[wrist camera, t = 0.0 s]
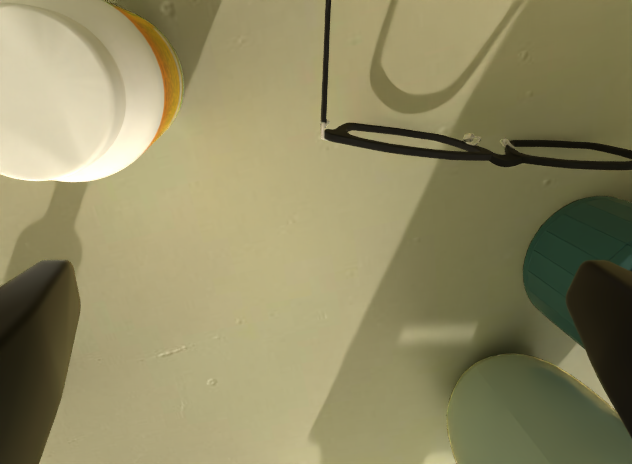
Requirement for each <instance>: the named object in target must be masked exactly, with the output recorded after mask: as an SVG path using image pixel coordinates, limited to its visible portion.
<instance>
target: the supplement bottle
mask: <svg viewBox="0 0 632 464" xmlns="http://www.w3.org/2000/svg"><path fill="white" fill-rule="evenodd" d="M183 95H184V78H183V71H182V67H181V64H180V61H179V58H178V56H177V54H176V52H175V50H174V48H173V47H172V45H171V44H170V42H169V41H168V40H167V38H166V37H165V36H164V35H163V34H162V33H161V32H160V31H159V30H158V29H157V28H156V27H155V26H154V25H152V24H151V23H150V22H148V21H147V20H145V19H144V18H142V17H140V16H138V15H136V14H134V13H132V12H130V11H127V10H124V9H122V8H119V7H117V6H115V5H113V4H110V3H108V2H105V1H103V0H0V174H2V175H5V176H8V177H11V178H15V179H21V180H28V181H45V180H56V181H63V182H84V181H92V180H97V179H100V178H104V177H107V176H109V175H112V174H114V173H116V172H118V171H120V170H122V169H123V168H125V167H126V166H128V165H130V164H131V163H132V162H134V161H135V160H136V159H137V158H139V157H140V156H141V155H142V154H143V153H144V152H145V151H146V150H147V149H148V148H149V147H150V146H151V145H152V144H153V143H154V142H155V141H156V140H157V139H158V138H159V137H160V136H161V135H162V134H163V133H164V132H165V131H166V130H167V129H168V128H169V127H170V125H171V124H172V123H173V121H174V120H175V118H176V116H177V114H178V112H179V110H180V107H181V104H182V101H183Z"/></svg>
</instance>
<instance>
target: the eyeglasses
mask: <svg viewBox="0 0 632 464" xmlns="http://www.w3.org/2000/svg"><path fill="white" fill-rule="evenodd" d="M330 10H331V0H326V8H325V33H324V58H323V81H322V105H321V124H320V125H321V139H322V140H326V141H332V142H336V143H341V144H346V145H352V146H357V147H362V148H367V149H372V150H377V151H383V152H388V153H395V154H403V155H411V156H419V157H429V158H438V159H448V160H474V161H490V162H491V163H493V164H495V165H498V166H501V167H512V166H516V165H519V164H521V163H526V164H534V165H542V166H552V167H561V168H573V169H596V170H632V161H626V162H616V161H580V160H564V159H555V158H547V157H538V156H531V155H526V154H523V153H520V152H518V151H517V150H515V149H514V148H515V147H562V148H581V149H592V150H597V151H602V152H607V153H611V154H615V155H619V156H623V157H626V158H630V159H632V151H631V150H627V149H623V148H618V147H613V146H609V145H604V144H599V143H590V142H571V141H550V140H511V141H509V140H507V139H506V138H504V139H502V140H501V141H500V143H501V144H502V146H503V147H504V146H506V147H505V153H506V154H505V155H499V154H496V153H493V152H491V151H489V150H487V149H485V148H482V147H479V146H476V145H477V144H478V143H479V142H480V140H481V137H474V135H473V134H472V133H470V134H465V136H464V138H463V140H464V141H465V142H464V141H461V140H458V139H454V138H451V137H447V136H444V135H439V134H434V133H426V132H420V131H413V130H406V129H400V128H392V127H384V126H376V125H367V124H359V123H345V124H343V125H341V126H339V127H338V128H336V129H334V130H331V129H326V130H325V131H324V128H326V126H327V125H328V124H329V123H330V122H329V120H327V119H326V111H327V86H328V60H329V34H330ZM351 130H357V131H366V132H375V133H384V134H393V135H400V136H408V137H414V138H421V139H428V140H434V141H438V142H442V143H445V144H449V145H452V146H455V147H458V148H461V149H464V150H466V151H469V152H461V151H445V150H435V149H426V148H418V147H410V146H403V145H396V144H389V143H384V142H379V141H374V140H368V139H364V138H359V137H356V136H353V135H350V134H349V133H348V131H351ZM473 139H478V141H477V142H475V143H474V144H473V143H470V142H472V141H473Z"/></svg>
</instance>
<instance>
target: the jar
mask: <svg viewBox="0 0 632 464" xmlns="http://www.w3.org/2000/svg"><path fill="white" fill-rule="evenodd" d="M587 260H606V261H610V262H612V263H614V264H616V265H618V266H621V267H623V268H625V269H627V270H629V271H631V272H632V203H631V202H628V201H626V200H621V199H617V198H614V197H608V196H594V197H588V198H584V199H580V200H578V201H575V202H573V203H571V204H569V205H567V206H565V207H563V208H562V209H560V210H559V211H557V212H556V213H555V214H554V215H552V216H551V217H550V218H549V219H548V220H547V221H546V222H545V223H544V224H543V225H542V226H541V228H540V229H539V230H538V232H537V233H536V235H535V236H534V238H533V240H532V241H531V244H530V246H529V248H528V250H527V254H526V257H525V261H524V267H523V280H524V286H525V290H526V292H527V295H528V297H529V299H530V300H531V302H532V303H533V305H534V306H535V307H536V308H537V309H538V310H539V311H541V312H542V313H543V314H544V315H545V316H546V317H547V318H548V319H549V320H550V321H552V322H553V323H554V324H555V325H556V326H558V327H559V328H560V329H561V330H562V331H564V332H565V333H566V334H567V335H568V336H570V337H571V338H572V339H573V340H574V341H576V342H577V343H578V344H579V345H580V346H582V347H583V348H584V345H583V343H582V341H581V338H580V336H579V334H578V332H577V329H576V327H575V325H574V322H573V320H572V318H571V316H570V313H569V311H568V309H567V306H566V294H567V291H568V289H569V287H570V285H571V283H572V281H573V279H574V276H575V274H576V272H577V270H578V268H579V266H580V265H581V264H582V263H583V262H584V261H587ZM584 349H585V348H584Z"/></svg>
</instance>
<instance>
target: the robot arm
mask: <svg viewBox="0 0 632 464" xmlns="http://www.w3.org/2000/svg"><path fill="white" fill-rule="evenodd" d="M566 306H567V309H568V311H569V313H570V316H571V318H572V320H573V322H574V325H575V327H576V329H577V332H578V334H579V336H580V338H581V341H582V343H583V345H584V348H585V350H586V352H587V355H588V357H589V359H590V361H591V364H592V366H593V368H594V370H595V372H596V375H597V377H598V379H599V381H600V382H601V384H602V386H603V388H604V390H605V392H606V394H607V395H608V397H609V399H610V401H611V403H612V404H613V406H614V408H615V410H616V412H617V413H618V415H619V417H620V419H621V420H622V422H623V424H624V426H625V428H626V429H627V431H628V433H629V435H630V437H631V438H632V272H631V271H629V270H627V269H625V268H623V267H621V266H618V265H616V264H614V263H612V262H610V261H606V260H587V261H584V262H583V263H582V264H581V265H580V266H579V268H578V270H577V272H576V274H575V276H574V279H573V281H572V283H571V285H570V287H569V289H568V291H567V294H566ZM79 316H80V297H79V292H78V287H77V282H76V277H75V273H74V268H73V266H72V264H71V262H69V261H68V260H42V261H40V262H38V263H36V264H35V265H33V266H32V267H30V268H29V269H27V270H26V271H24V272H23V273H21V274H19V275H18V276H16V277H15V278H13V279H12V280H10V281H9V282H7V283H6V284H4V285H3V286H1V287H0V464H39V462H40V459H41V456H42V453H43V451H44V448H45V445H46V442H47V439H48V436H49V433H50V431H51V428H52V425H53V422H54V419H55V416H56V413H57V410H58V407H59V404H60V401H61V397H62V393H63V389H64V385H65V380H66V376H67V371H68V367H69V362H70V357H71V353H72V348H73V343H74V339H75V334H76V329H77V325H78V320H79Z"/></svg>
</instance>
